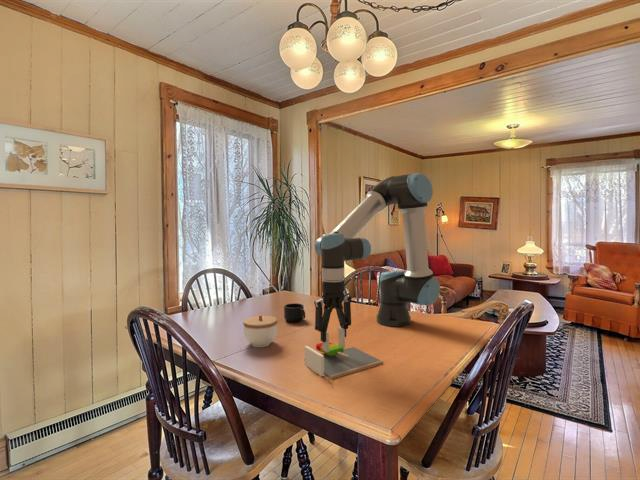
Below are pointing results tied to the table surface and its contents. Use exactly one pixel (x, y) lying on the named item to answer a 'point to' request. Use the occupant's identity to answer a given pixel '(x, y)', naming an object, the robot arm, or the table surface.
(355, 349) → the slate board
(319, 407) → the table surface
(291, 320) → the mug
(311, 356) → the word card
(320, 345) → the popsicle
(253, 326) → the lidded bowl
